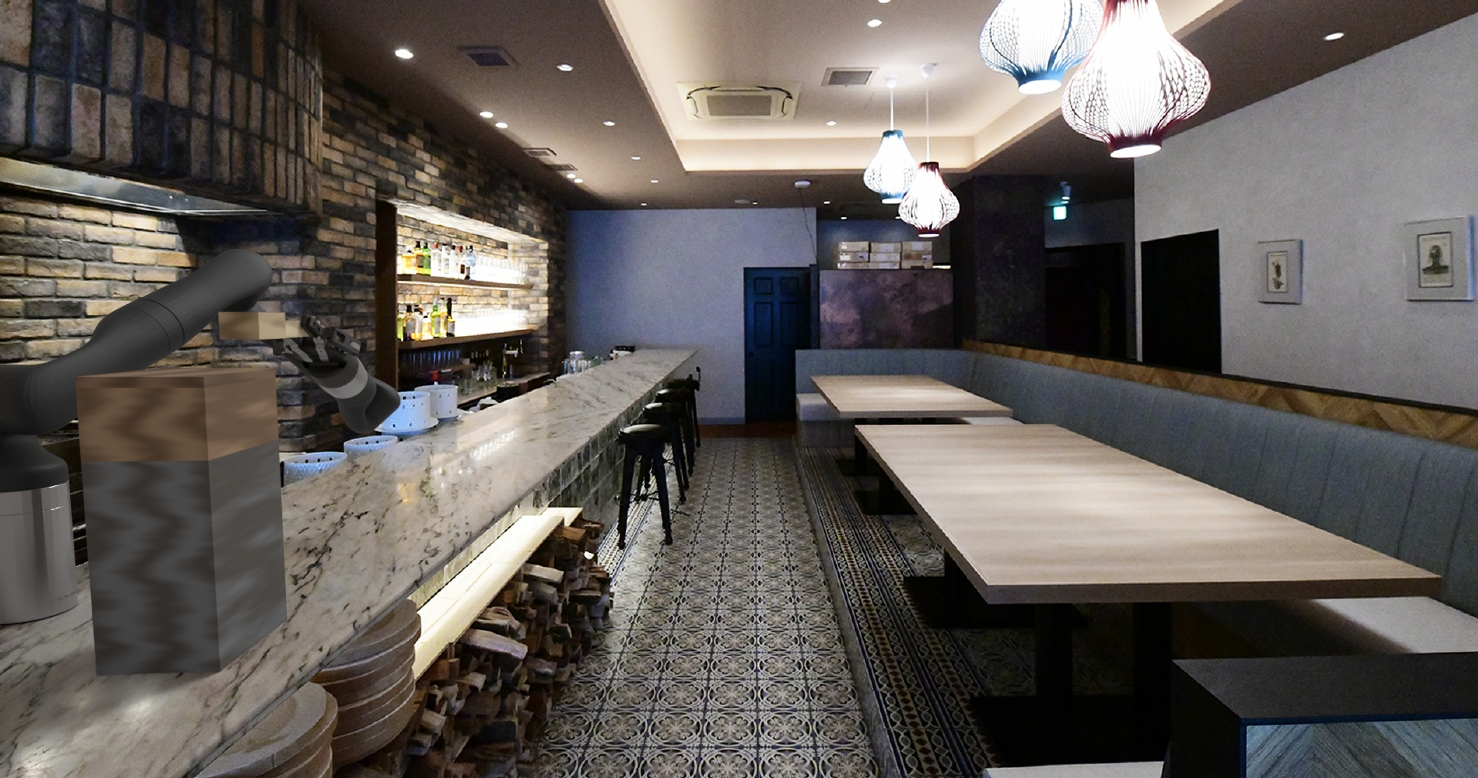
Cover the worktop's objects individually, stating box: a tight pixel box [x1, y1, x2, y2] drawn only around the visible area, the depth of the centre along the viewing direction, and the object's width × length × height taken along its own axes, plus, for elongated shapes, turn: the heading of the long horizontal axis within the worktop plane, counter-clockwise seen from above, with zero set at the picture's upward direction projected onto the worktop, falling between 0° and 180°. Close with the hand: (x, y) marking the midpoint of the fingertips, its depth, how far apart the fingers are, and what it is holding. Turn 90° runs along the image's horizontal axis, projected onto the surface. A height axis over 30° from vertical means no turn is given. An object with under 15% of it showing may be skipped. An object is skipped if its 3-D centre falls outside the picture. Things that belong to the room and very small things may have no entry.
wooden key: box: [217, 311, 321, 341], centre depth 110 cm, size 5×20×4 cm, turn 5°
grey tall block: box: [75, 367, 288, 676], centre depth 91 cm, size 13×15×33 cm
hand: (291, 319), depth 114 cm, fingers closed on wooden key, 3 cm apart
